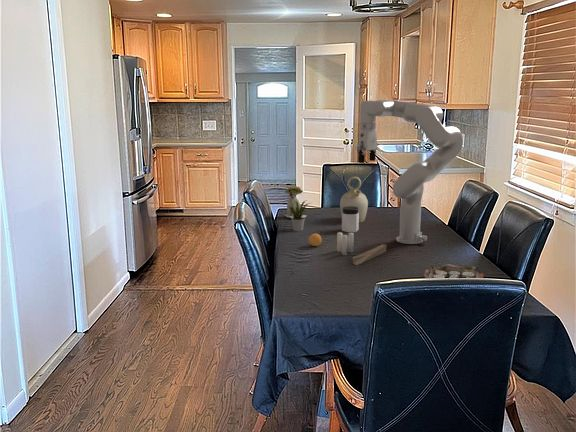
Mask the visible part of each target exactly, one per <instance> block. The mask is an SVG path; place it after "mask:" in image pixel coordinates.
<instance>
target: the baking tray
mask: <svg viewBox="0 0 576 432" xmlns="http://www.w3.org/2000/svg"><path fill="white" fill-rule="evenodd" d="M430 266H431V268H427V269H426V270H425V271H424V273H423V274H424V275H423V276H424V278H425V279H426V278H445V276H447V277H448V279H449V278H459V277H460V274H462V276H461V278H462V277H466V278H483V279H484V274H485V273H484V271H483V270H482V269H481V268H479V266H474V265H472V266H470V265H462V264H461V265H458V264H457V265H456V264H448V263H447V264H442V265H441V267H440V266H438V267H435V266H434V265H430ZM447 272H449V275H447ZM433 274H436V275H433ZM449 276H450V277H449ZM445 279H446V278H445ZM459 279H460V278H459Z"/></svg>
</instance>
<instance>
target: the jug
mask: <svg viewBox="0 0 576 432" xmlns="http://www.w3.org/2000/svg"><path fill="white" fill-rule="evenodd" d="M354 180H356V181H357V182H358V185H357V186H355V187H353V186H351V182H352V181H354ZM346 186H347V188H348V189H349V191H347V192H346V193H344V194H342V196H341V199H340V202H339V207H340V214H341V216H342V213H343V207H348V206H353V207H358V212H359V223H363V222H365V220H366V217H367V212H368V206H369V201H368V199H367V196H366V195H365V194H364V193H363V192H362V191H361V190H360V188H361V186H362V180H361V179H360V177H358V176H356V175H353V176H351V177H349V178H348V179H347V183H346Z"/></svg>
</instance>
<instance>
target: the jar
mask: <svg viewBox="0 0 576 432" xmlns="http://www.w3.org/2000/svg"><path fill="white" fill-rule="evenodd" d="M359 223H360V222H359V212H358V207H353V206H348V207H343V213H342V215H341V232H346V233H356V232H358V231H359V229H360V228H359V227H360V226H359V225H360V224H359Z"/></svg>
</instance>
